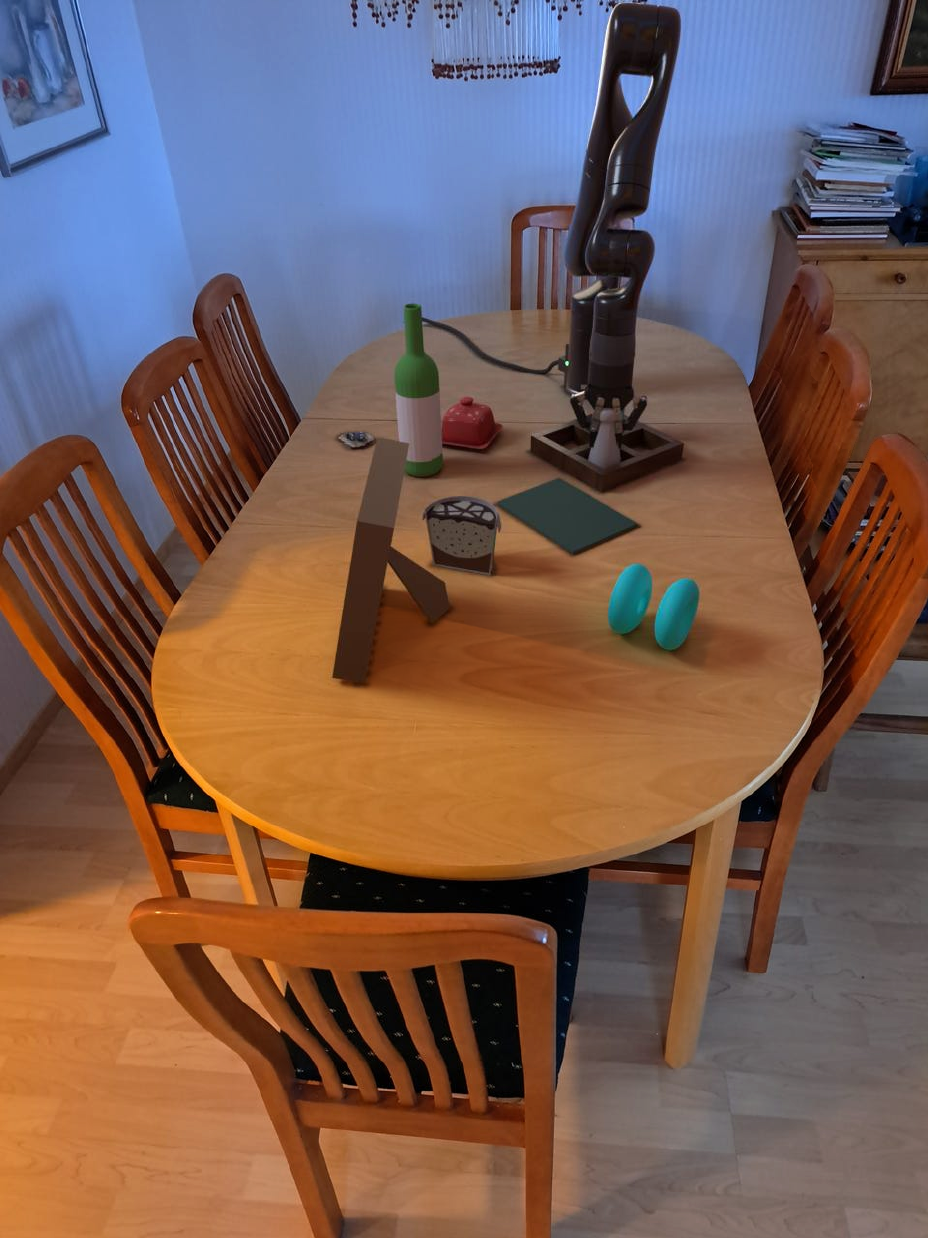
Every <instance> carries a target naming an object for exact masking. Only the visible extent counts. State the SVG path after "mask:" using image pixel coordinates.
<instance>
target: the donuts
mask: <svg viewBox="0 0 928 1238" xmlns="http://www.w3.org/2000/svg"><path fill="white" fill-rule="evenodd" d="M652 593H653V578H652V574H651V572H650V570H649V569H648V567H646V566H645V565H643V564H641V563H632V564H630V565H628V566H626V567H625V568H624V570H623V571H622V572H621V573H620V575H619V576H618V578H617V580H616V582H615V584H614V586H613V589H612V591H611V594H610V599H609V602H608V607H607V622H608V625H609V628H610V629H611V630H612V631H613V632H614V633H616V634H620V635H624V634H625V635H626V634H629V633H631V632H632V631H634V630H635V629H636V628H638V626H640V623H641V622H642V621H643V619H644V617H645V615H646V613H647V611H648V608H649V605H650V603H651V598H652ZM661 598H662V599H661V601H660V603H659V605H658V608H657V611H656V614H655V620H654V637H655V640H656V642H657V643H658V645H659V646H660V647H661V648H662V649H664V650H667V651H673V650H676V649H679V647H681V645H683V643H684V642H685V641H686V639H687V637H688V636H689V634H690V631H691V629H692V627H693V624H694V622H695V619H696V616H697V611H698V608H699V603H700V588H699V585H698V584H697V582H696V581H695V580H694V579H692V578H690V577H689V578H688V577H684V578H683V577H682V578H679V579H678V580H676V581H674V582H673V583H672V584H670V585H669V587H668V588H667V589H666V591H665V593H664V594H663V596H662V597H661Z"/></svg>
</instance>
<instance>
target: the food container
mask: <svg viewBox="0 0 928 1238" xmlns="http://www.w3.org/2000/svg"><path fill="white" fill-rule="evenodd" d="M421 520H422V521H425V523H426V528H427V534H428V540H429V541H428V542H429V546H430V551H431V553H430V554H431V557H432V565H433V566H434V567H441V568H447V569H452V570H457V571H464V572H470V573H476V574H480V575H486V576H491V575H492V572H493V566H494V558H495V557H494V556H495V548H496V539H497V531H498V533H501V530H502V522H501V516H500V514H499V512H498V510H497V508H496V507H495V506H494V504H492V503H491V502H490V501H487V500H485V499H483V498H480V497H474V496H469V495H454V496H447V497H443V498H440V499H437V500H435V501H432V502H431V503H430V504H428V505H427V506H426V507H425V508H424V511H423V512H422V519H421Z"/></svg>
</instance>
